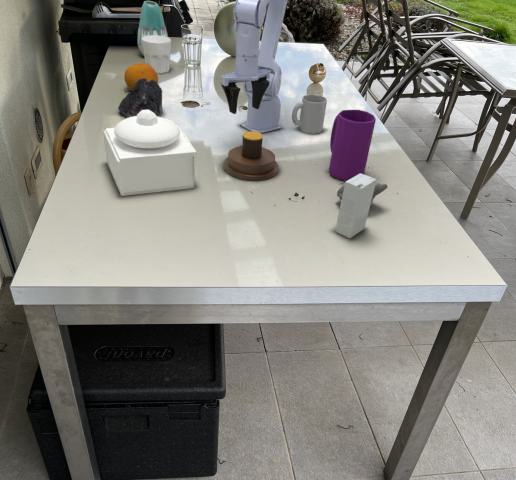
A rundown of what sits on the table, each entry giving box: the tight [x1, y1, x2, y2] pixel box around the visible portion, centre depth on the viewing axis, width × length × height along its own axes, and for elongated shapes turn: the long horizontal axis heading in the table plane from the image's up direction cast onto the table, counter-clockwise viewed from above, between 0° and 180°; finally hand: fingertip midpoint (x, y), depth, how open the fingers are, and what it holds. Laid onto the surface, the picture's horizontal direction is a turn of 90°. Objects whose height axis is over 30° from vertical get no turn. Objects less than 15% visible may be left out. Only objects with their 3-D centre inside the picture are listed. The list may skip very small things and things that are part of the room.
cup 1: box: [142, 35, 172, 74], centre depth 188 cm, size 10×10×10 cm
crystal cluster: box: [117, 78, 163, 118], centre depth 157 cm, size 13×14×10 cm
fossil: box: [336, 182, 388, 204], centre depth 124 cm, size 11×9×8 cm
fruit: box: [123, 62, 159, 90], centre depth 172 cm, size 10×10×8 cm
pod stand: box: [223, 145, 279, 182], centre depth 136 cm, size 14×14×4 cm
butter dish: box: [102, 110, 198, 197], centre depth 125 cm, size 18×18×16 cm
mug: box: [328, 109, 377, 182], centre depth 136 cm, size 9×16×15 cm, turn 18°
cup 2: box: [291, 94, 328, 135], centre depth 157 cm, size 7×10×9 cm
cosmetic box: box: [334, 173, 377, 239], centre depth 114 cm, size 6×4×12 cm
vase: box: [136, 0, 169, 57], centre depth 197 cm, size 12×12×18 cm
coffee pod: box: [241, 130, 264, 159], centre depth 133 cm, size 5×5×5 cm
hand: (244, 110), depth 142 cm, fingers open, 7 cm apart
